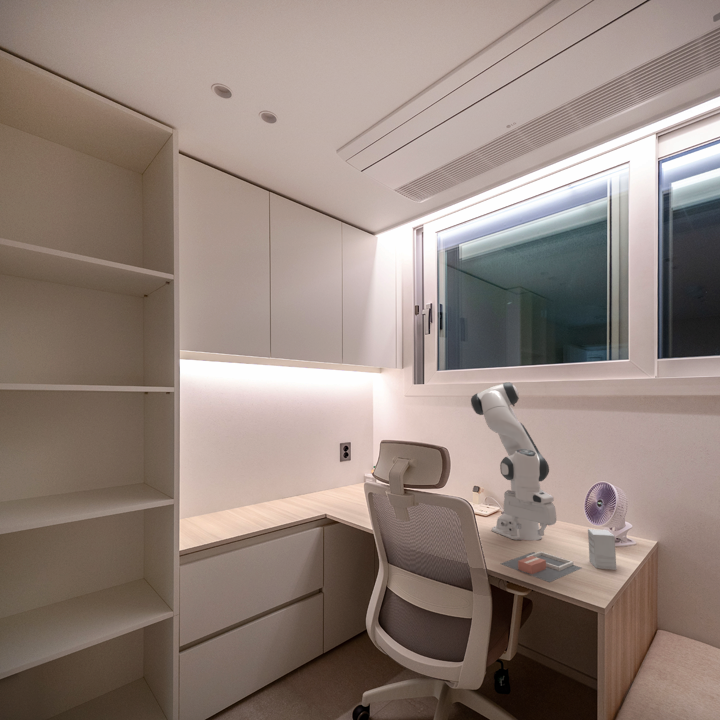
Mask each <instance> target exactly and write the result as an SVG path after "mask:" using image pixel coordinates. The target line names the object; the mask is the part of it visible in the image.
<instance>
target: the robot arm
mask: <svg viewBox="0 0 720 720" xmlns="http://www.w3.org/2000/svg"><path fill="white" fill-rule="evenodd" d="M519 399H520V398H519V391H518V388H517V387H516V385H515V384H513V383H512V382H510V381H508V382H502V383H499V384H497V385H494V386H491V387H489V388H486V389H484V390H482V391H480V392H477V393H475V394H473V395H472V396H471V398H470V406H471V408H472V410H473V411H474V412H475V414H477V415H479V416H483V417H484V419H485V423H486V425H487V427H488V429H490V430H491V431H492V432H494V433H496V434H498V437H499V439H500V441H501V444H502V445H503V448H504V449H505V451H506V453H507V455H508V456H505V457H503V459H501V462H500V464H499V466H500V469H499V470H500V474H501V475H502V477H503V478H505V480H507V481H510V489H508V490H506V491H504V493H503V495H504V498H503V512H504V513H502V514H501V515H500V516H498V517H497V519H496V525H494V526H493V527H492V528H491V531H492V532H493V533H497V534H498V535H501V536H503V537H506V538H508V539H511V540H515V541H516V540H517V541H519V540H522V541H523V540H524V541H540V540H541V539H542V538H543V536H545V530H546V528H547V526H553V525H555V524H556V523H557V510H556V507H555V503H553V502H554V501H555V499H554V498H555V497H554V496H553V495H552V494H550V493H548V492H547V491H544V490H543V489H541V484H540V482H543V481H544V480H545V479H547V477H548V476H549V473H550V467H549V466H550V465H549V464H548V461H547V459H545V457H544V456H543V455H542V454H541V452H540V451H539V449H538V447H537V446H536V444H535V442H534V440H533V439H532V437H531V434H529V432H528V430H527V429H526V426H525V425H524V424H523V423H522V422H520V421H519V419H518V417H517V414H516V413H515V410H514V409H513V407H515V405H516V403H517V402H518V401H519ZM511 405H512V406H513V407H512V406H511Z"/></svg>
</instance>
